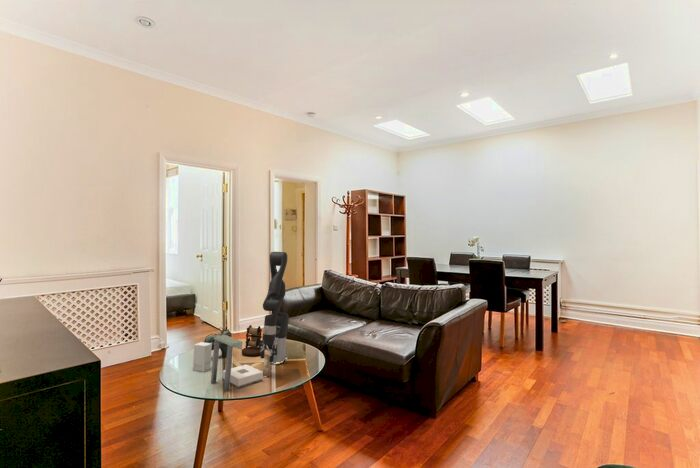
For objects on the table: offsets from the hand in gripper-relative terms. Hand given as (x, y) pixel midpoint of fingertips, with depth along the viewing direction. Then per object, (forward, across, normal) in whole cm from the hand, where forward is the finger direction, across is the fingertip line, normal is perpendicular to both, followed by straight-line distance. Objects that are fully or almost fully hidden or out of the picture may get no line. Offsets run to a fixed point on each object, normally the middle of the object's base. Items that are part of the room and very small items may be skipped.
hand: (266, 360), depth 206 cm
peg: (+10, 0, -1) cm, 10 cm away
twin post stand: (+10, +4, +25) cm, 27 cm away
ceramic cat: (+10, +46, +6) cm, 47 cm away
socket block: (+10, +4, +13) cm, 17 cm away
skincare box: (+10, +33, +23) cm, 41 cm away
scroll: (+9, +39, -18) cm, 44 cm away
